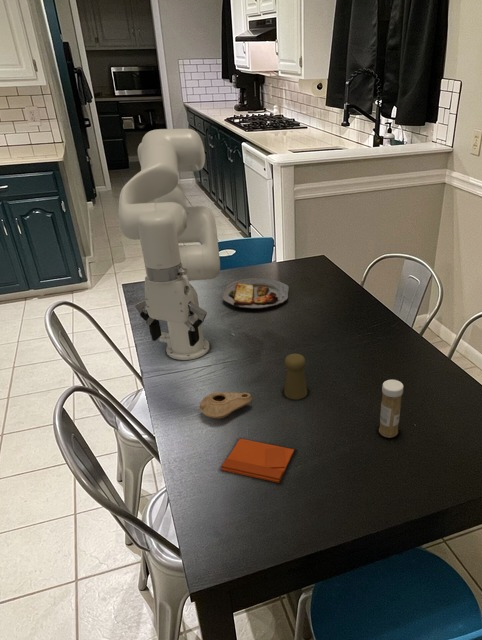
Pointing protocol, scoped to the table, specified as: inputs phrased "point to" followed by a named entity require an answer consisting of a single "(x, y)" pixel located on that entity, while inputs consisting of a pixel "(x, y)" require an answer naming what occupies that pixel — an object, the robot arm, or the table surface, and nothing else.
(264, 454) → the rust cloth
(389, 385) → the sprinkles bottle
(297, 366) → the cork
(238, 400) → the pottery oil lamp
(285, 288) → the food plate
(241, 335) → the table surface
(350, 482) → the table surface
